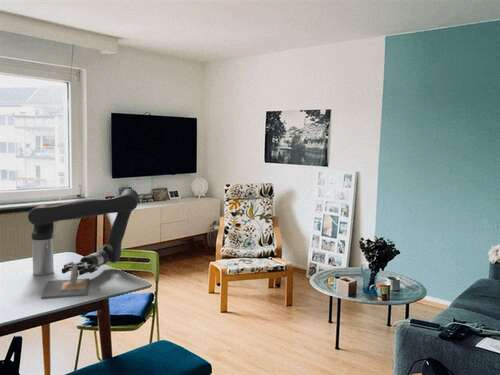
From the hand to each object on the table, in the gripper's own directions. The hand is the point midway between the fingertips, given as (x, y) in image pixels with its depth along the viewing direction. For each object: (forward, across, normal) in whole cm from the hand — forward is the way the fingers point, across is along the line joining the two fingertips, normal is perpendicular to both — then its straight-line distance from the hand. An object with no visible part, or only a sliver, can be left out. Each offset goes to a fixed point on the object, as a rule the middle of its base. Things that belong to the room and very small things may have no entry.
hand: (71, 272), depth 199 cm
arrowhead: (-2, 0, +7) cm, 7 cm away
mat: (0, -2, +8) cm, 8 cm away
